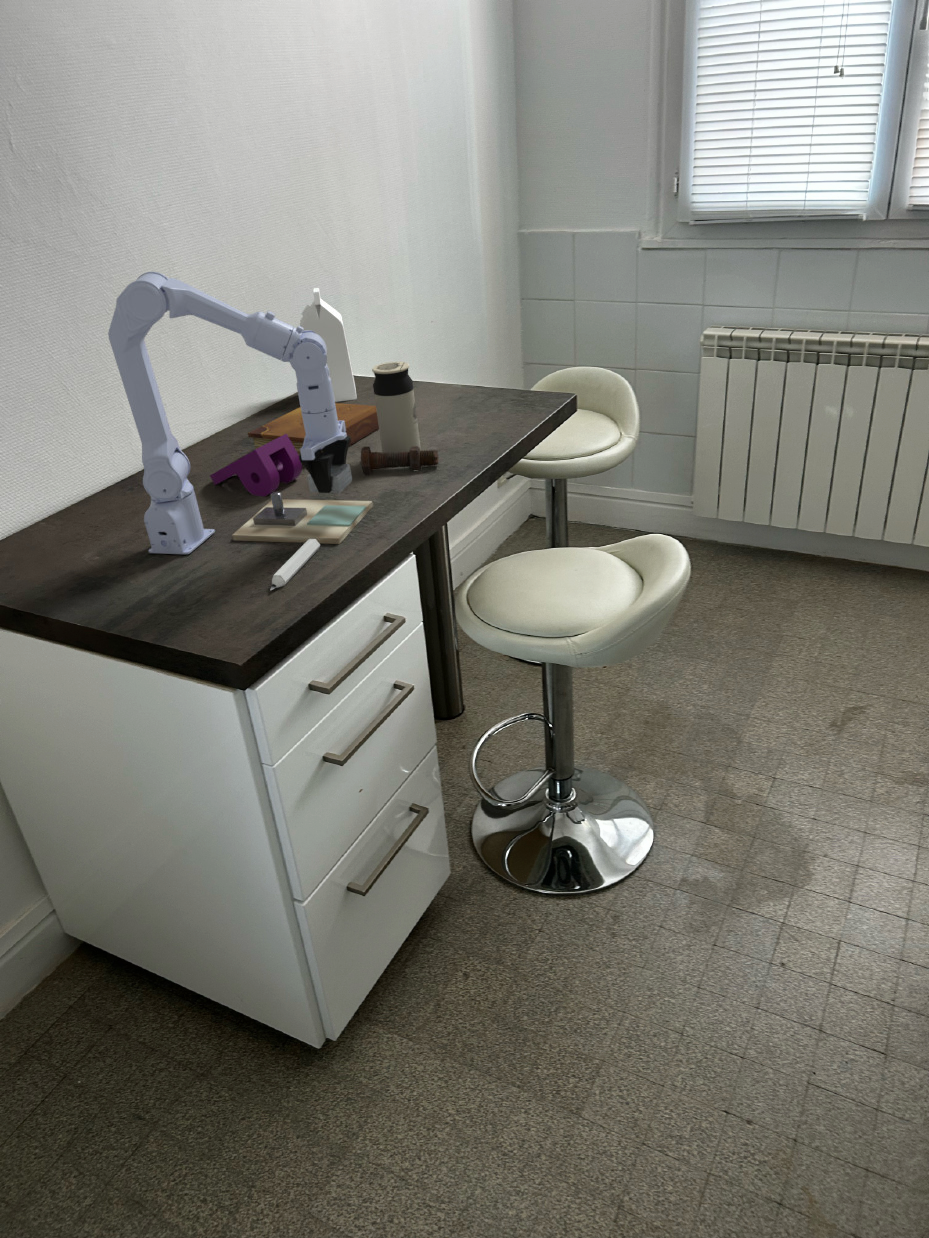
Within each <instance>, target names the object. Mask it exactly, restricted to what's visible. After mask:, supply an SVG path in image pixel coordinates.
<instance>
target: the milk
mask: <svg viewBox="0 0 929 1238" xmlns="http://www.w3.org/2000/svg"><path fill="white" fill-rule="evenodd" d="M312 291H313V302H312V303H311V304H310V305H309V304H307V305H305V308H304V309H303V310H302V313H301V315H302V317H301V318H300V321H299V326H301V327H303V328H304V330H303V331H305V330H312V331H314V332H315V333H316V334H318V335H319V336H320V337H321V338H322V339H323V340H324V342H325V344H326V347H327V367H328V368H329V377H330V378H331V382H332V388H333V394H334V400H335V403H339V402H344V401H346V402H347V401H352V400H353V401H354V400H357V399H358V398H357V396H358V395H357V389H356V382H355V377H354V374H353V369H352V368H353V367H352V363H351V362H352V361H351V358H350V351H349V347H348V342H347V336H346V331H345V326H344V322H343V316H342V314H341V313H340V312H339V311H337V309H335V308H333V306H331V305H330V304H328V303H327V302H326V301H324V300H323V299H322V297H321V293H320V287H314V288H313V290H312Z"/></svg>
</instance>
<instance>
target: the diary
mask: <svg viewBox="0 0 929 1238" xmlns="http://www.w3.org/2000/svg"><path fill="white" fill-rule="evenodd" d="M335 406H336V412H337V418H338V421H345V427H346V431H345V432H346V434H347V436H350V437H351V442H350V444H349V447H351V446H352V445H354V444H355V443H357V442H359V441H361V440H363V439H364V438H366V437H368V436H369V435H371V434H372V432H373V433H374V432H376V431H377V429H378V430H379V424H378V417H377V410H376V405H369V404H354V403H339V402H335ZM285 434H287V435H288V437H289V439H290V441H291V442H292V444H293V446H294V448H295V450H296V451H297V453H298V455H300V454H301V452H300V449H301V448H302V446H303V443H304V438H305V436H306V434H305V428H304V423H303V417H302V412H301V407H297V408H296V409H294V410H292V411H290V412H287V413H285V414H283V415H280V416H279V417H277V418H276V419H273V420H270V421H269V422H267V423H264V424H263V425H261V426H260V427H257V428H255V429H253V430H252V431H249V432H247V436H248V438H252V439H253V444H254V448H255V449H257V448H259V447H261V446H263V445H265V444H267V443H269V442H271V441H273V440H275V439H277V438H279V437H281V436H283V435H285ZM367 435H368V436H367ZM350 445H351V446H350ZM255 449H254V450H255ZM322 453H323V451H322Z"/></svg>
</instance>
